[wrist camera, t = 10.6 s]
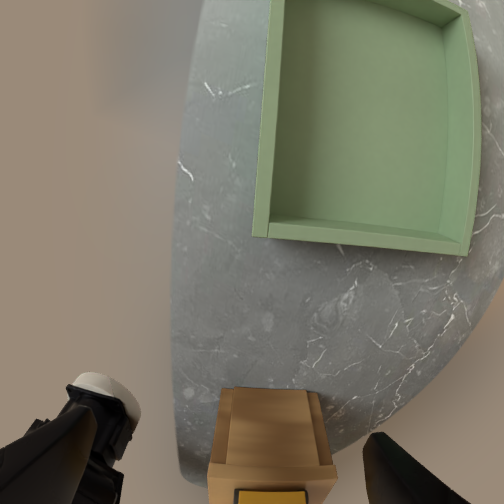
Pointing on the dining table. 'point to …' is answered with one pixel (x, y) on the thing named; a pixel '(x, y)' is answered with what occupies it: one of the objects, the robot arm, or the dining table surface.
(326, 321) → the dining table surface
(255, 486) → the oak stand
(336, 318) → the dining table surface
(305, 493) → the small car
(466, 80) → the green box
